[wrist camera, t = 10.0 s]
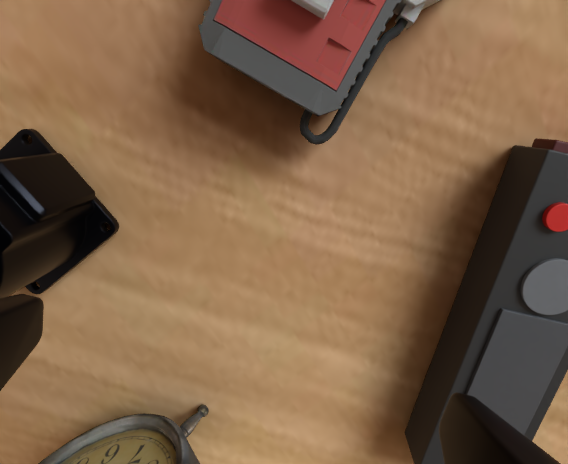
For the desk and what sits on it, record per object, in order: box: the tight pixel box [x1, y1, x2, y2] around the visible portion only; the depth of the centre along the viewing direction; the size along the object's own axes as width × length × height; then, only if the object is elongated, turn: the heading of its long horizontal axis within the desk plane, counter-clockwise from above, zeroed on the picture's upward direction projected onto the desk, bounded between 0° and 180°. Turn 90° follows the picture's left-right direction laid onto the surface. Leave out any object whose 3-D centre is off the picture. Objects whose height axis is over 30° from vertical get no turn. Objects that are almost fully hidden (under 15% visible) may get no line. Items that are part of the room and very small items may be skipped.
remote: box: [405, 139, 568, 464], centre depth 19 cm, size 17×5×3 cm, turn 168°
